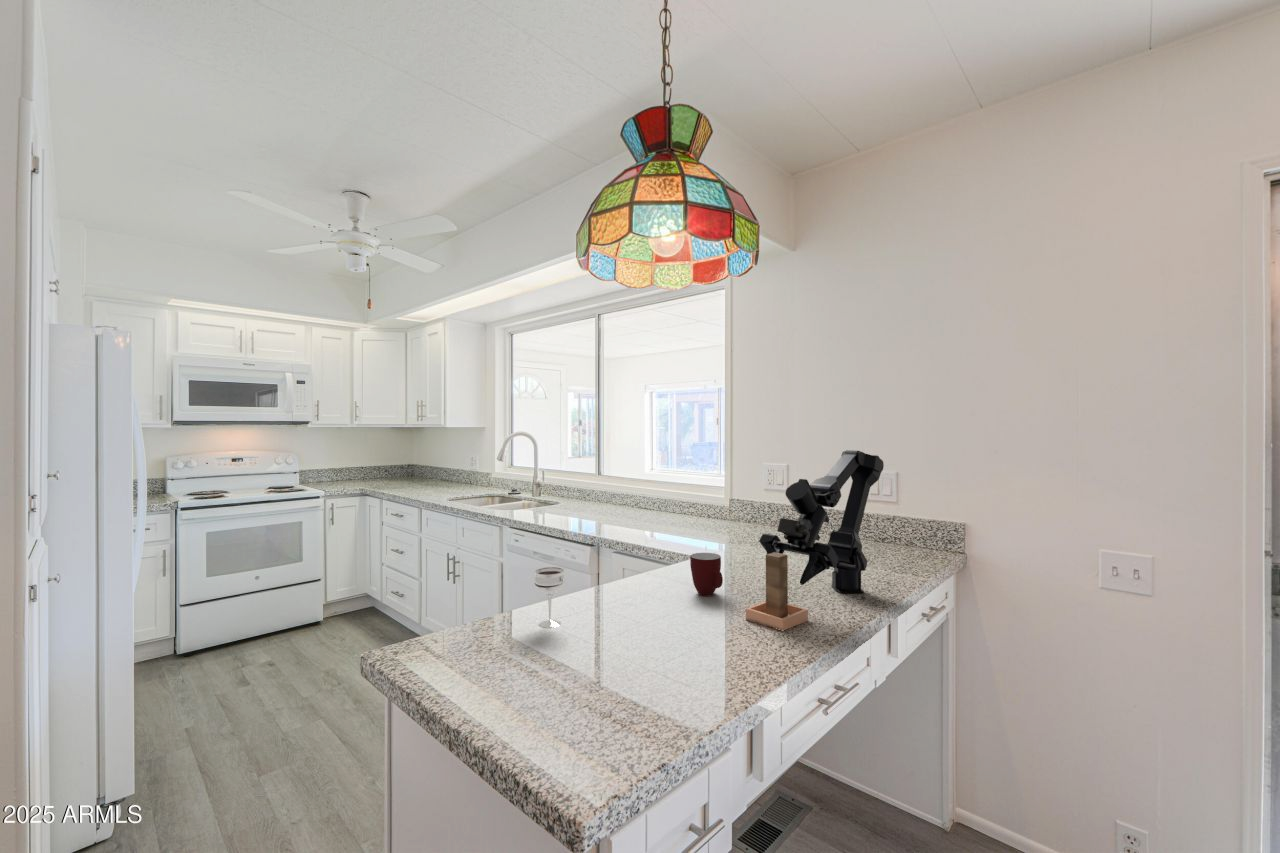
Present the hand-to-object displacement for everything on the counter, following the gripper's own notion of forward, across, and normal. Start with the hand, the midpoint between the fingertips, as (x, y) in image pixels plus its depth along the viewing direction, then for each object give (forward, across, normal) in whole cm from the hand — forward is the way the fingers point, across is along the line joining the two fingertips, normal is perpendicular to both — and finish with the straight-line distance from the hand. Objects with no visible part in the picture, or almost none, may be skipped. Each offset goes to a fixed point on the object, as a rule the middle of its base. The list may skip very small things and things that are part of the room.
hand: (783, 579), depth 127 cm
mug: (+6, -23, +6) cm, 25 cm away
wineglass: (+36, -33, -24) cm, 55 cm away
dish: (+8, 0, +4) cm, 9 cm away
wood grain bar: (+8, 0, +4) cm, 9 cm away
